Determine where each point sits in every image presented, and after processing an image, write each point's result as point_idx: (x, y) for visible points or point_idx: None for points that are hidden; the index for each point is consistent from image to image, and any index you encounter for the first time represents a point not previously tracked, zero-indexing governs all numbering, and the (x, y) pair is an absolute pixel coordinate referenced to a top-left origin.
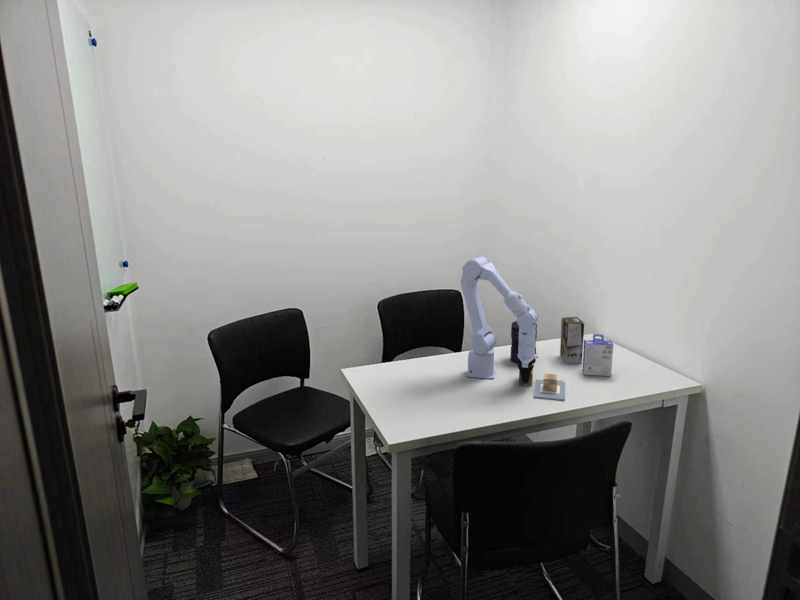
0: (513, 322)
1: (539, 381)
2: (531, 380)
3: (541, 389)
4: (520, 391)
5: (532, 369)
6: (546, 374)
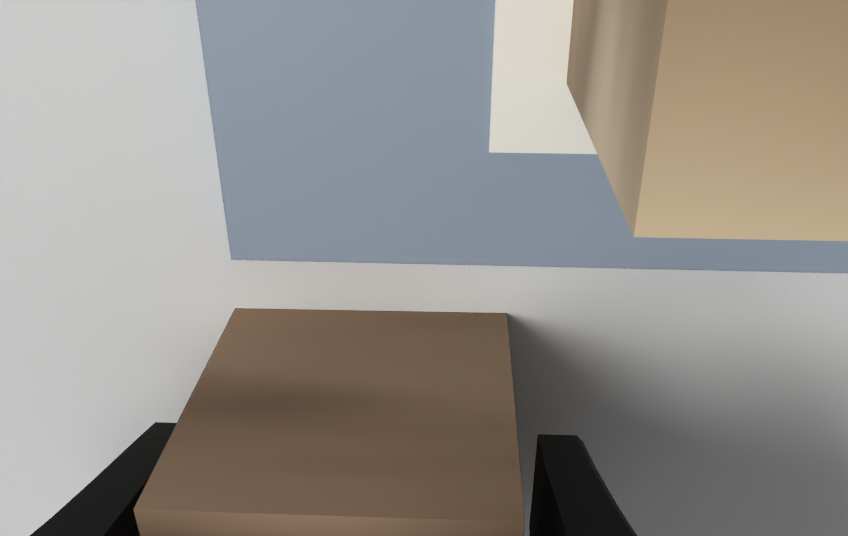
0: None
1: (322, 185)
2: (509, 397)
3: None
4: (804, 482)
5: (166, 518)
6: (748, 133)
